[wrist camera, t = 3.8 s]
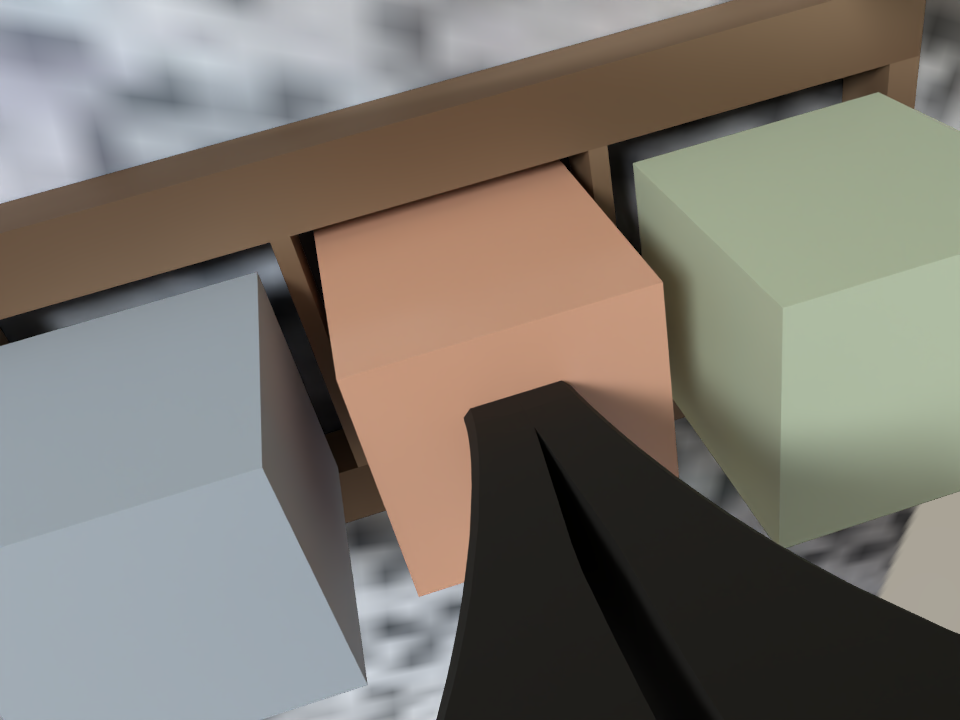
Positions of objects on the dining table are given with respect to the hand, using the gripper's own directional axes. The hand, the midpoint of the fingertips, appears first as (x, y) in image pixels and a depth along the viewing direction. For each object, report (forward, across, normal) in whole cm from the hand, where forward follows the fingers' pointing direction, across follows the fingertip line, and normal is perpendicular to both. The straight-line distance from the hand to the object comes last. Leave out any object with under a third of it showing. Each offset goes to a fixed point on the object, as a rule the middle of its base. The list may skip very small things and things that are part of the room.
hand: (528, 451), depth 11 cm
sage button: (+3, -5, 0) cm, 6 cm away
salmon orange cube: (+4, 0, 0) cm, 4 cm away
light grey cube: (+3, +5, 0) cm, 6 cm away
